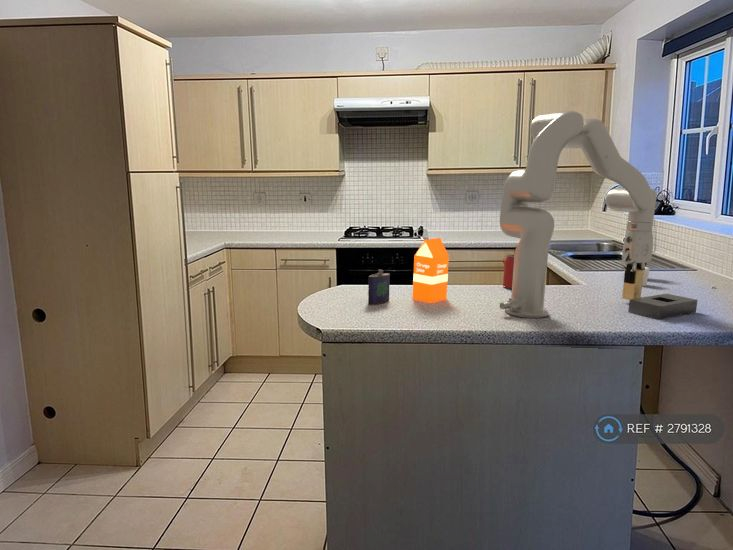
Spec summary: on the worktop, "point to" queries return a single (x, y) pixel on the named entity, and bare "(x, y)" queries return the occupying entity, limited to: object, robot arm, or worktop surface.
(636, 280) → the brass peg
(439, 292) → the orange juice
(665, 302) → the grey slotted block
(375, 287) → the flask
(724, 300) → the worktop surface
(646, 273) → the white cube
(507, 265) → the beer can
